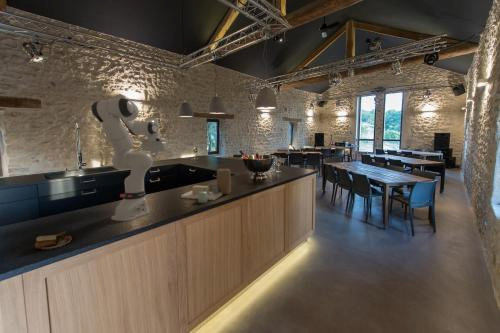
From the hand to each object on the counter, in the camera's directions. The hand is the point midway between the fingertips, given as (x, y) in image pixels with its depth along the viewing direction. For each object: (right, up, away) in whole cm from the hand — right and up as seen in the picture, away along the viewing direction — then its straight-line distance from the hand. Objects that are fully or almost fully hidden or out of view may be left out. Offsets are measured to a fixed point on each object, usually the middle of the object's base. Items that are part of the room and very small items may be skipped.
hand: (154, 157), depth 191 cm
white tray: (+35, -31, +7) cm, 48 cm away
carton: (+28, -26, +8) cm, 39 cm away
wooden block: (+52, -30, +18) cm, 62 cm away
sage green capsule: (+38, -33, -7) cm, 51 cm away
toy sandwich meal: (-18, -44, -76) cm, 89 cm away
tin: (+46, -29, +9) cm, 55 cm away
